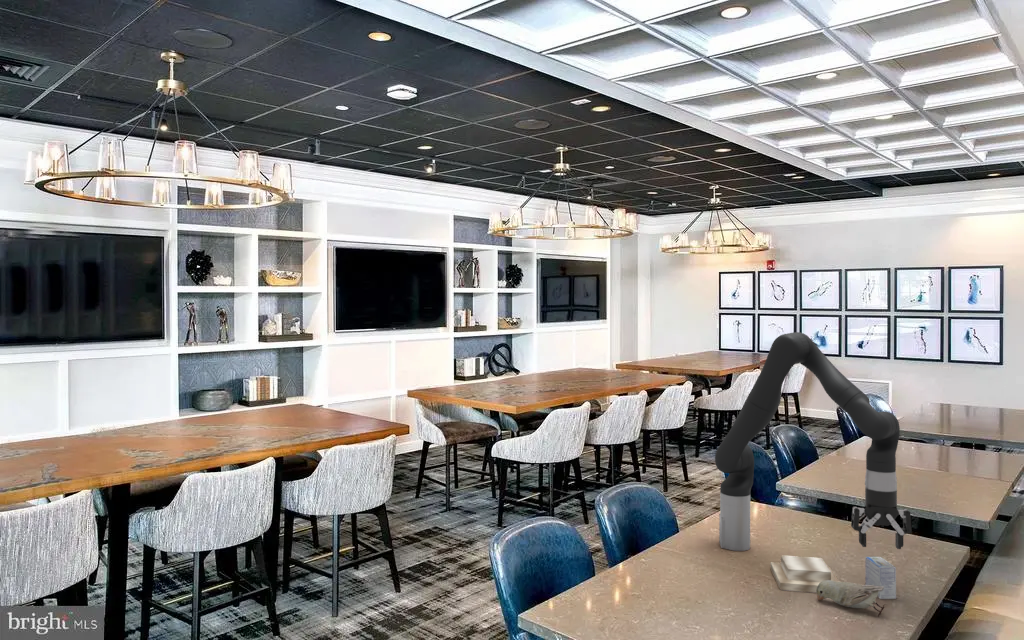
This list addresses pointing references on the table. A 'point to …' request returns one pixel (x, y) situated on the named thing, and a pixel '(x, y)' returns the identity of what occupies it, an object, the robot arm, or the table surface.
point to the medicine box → (881, 576)
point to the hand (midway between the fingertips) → (881, 547)
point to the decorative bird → (849, 594)
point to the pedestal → (801, 573)
